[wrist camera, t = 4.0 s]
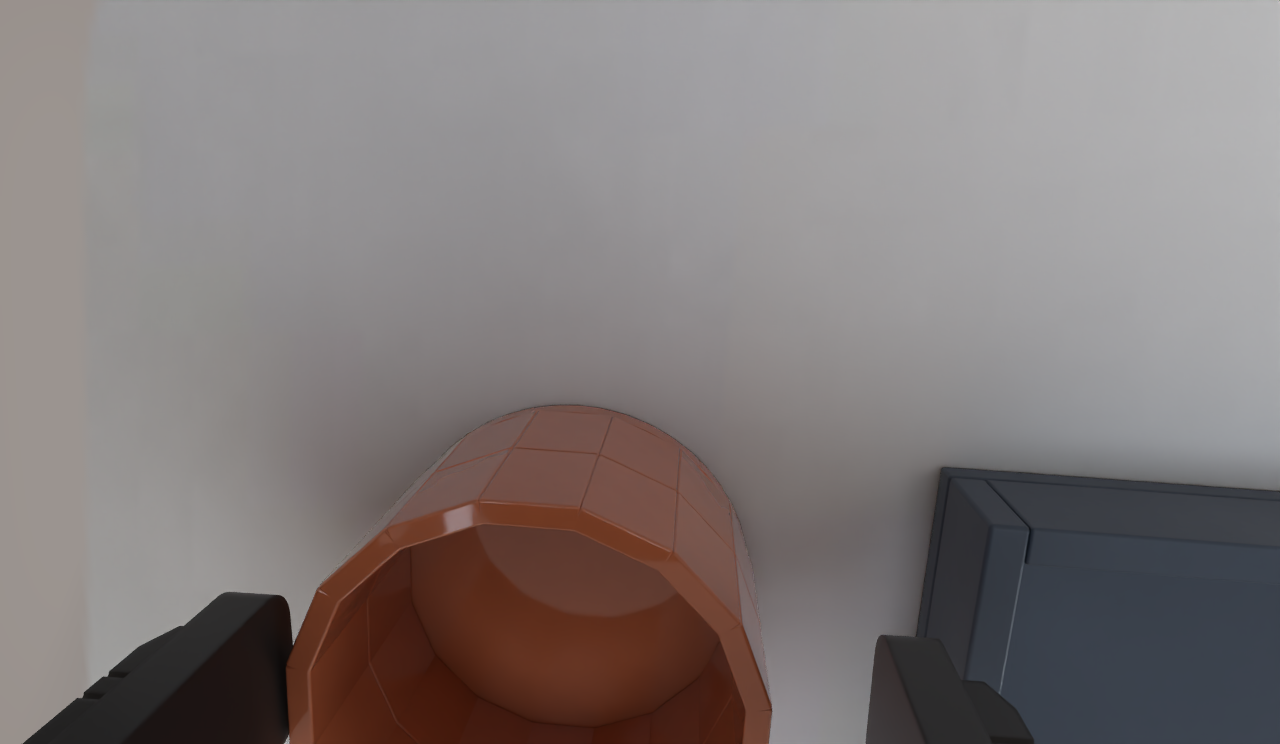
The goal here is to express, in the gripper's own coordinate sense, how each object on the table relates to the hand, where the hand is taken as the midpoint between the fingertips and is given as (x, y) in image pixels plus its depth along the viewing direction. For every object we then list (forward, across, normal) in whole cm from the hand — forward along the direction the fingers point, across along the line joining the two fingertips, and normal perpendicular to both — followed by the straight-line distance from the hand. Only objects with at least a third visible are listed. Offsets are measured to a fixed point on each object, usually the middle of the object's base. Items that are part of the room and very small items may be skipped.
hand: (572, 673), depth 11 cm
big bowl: (+4, +1, +1) cm, 4 cm away
